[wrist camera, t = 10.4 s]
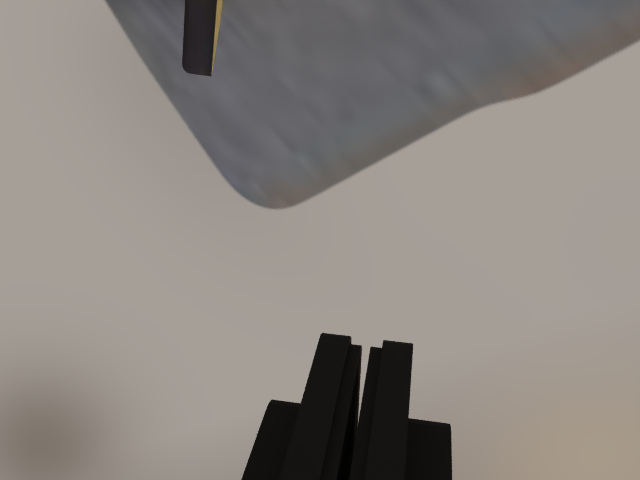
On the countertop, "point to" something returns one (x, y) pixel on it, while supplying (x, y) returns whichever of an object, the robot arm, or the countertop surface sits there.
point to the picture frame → (200, 35)
